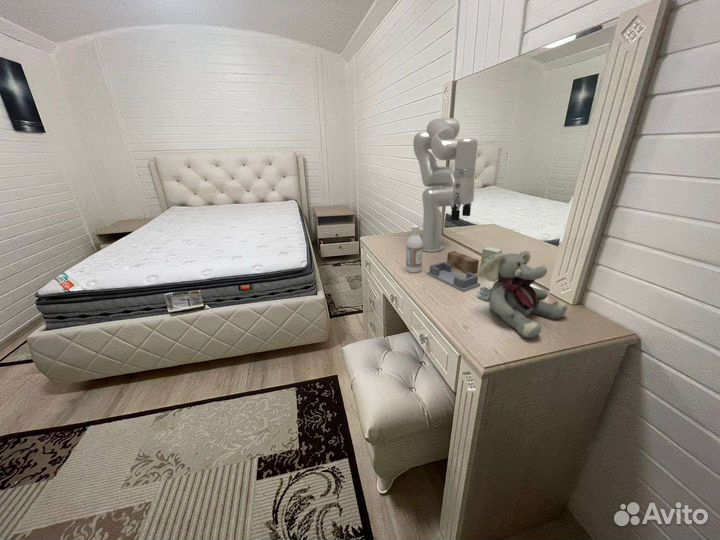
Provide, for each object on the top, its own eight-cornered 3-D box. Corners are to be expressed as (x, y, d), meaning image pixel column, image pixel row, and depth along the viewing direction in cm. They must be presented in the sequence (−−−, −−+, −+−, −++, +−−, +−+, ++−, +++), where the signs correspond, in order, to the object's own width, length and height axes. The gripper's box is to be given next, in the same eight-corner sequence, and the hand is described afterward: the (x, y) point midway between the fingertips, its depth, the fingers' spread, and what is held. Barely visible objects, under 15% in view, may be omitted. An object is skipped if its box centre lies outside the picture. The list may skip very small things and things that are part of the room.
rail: (427, 274, 126) (427, 265, 124) (442, 269, 130) (443, 261, 129) (463, 291, 110) (464, 282, 108) (479, 285, 114) (481, 276, 112)
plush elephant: (574, 320, 90) (592, 257, 82) (529, 344, 81) (545, 275, 73) (499, 287, 112) (507, 235, 104) (456, 303, 103) (462, 247, 94)
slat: (446, 264, 135) (447, 252, 133) (453, 263, 137) (454, 250, 135) (470, 275, 124) (472, 262, 121) (477, 273, 125) (478, 260, 123)
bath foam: (413, 274, 127) (414, 229, 119) (402, 269, 132) (403, 226, 124) (425, 270, 130) (427, 226, 122) (414, 265, 135) (415, 223, 128)
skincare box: (478, 276, 122) (481, 248, 117) (482, 273, 125) (486, 245, 120) (493, 280, 118) (498, 252, 113) (497, 276, 121) (502, 248, 116)
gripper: (463, 175, 105) (459, 223, 111) (483, 172, 116) (478, 215, 122) (444, 175, 109) (441, 220, 116) (464, 172, 121) (461, 213, 127)
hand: (460, 217), depth 119 cm, fingers open, 9 cm apart
